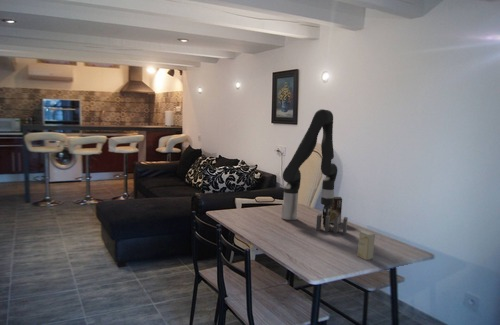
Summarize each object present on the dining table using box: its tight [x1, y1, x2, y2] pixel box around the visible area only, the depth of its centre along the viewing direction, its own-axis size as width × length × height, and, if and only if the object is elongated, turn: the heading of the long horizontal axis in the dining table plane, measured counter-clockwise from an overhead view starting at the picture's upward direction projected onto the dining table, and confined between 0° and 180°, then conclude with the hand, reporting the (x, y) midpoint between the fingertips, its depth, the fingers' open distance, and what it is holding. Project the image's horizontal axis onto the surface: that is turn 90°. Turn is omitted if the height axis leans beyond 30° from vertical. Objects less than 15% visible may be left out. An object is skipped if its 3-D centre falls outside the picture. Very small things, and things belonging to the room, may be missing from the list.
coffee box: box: [330, 196, 343, 225], centre depth 246 cm, size 9×6×16 cm
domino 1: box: [315, 213, 323, 232], centre depth 226 cm, size 2×5×9 cm, turn 159°
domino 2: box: [324, 215, 331, 233], centre depth 225 cm, size 2×5×9 cm, turn 159°
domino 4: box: [341, 216, 349, 236], centre depth 221 cm, size 2×5×9 cm, turn 160°
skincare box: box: [357, 230, 376, 261], centre depth 182 cm, size 6×4×12 cm
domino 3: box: [333, 216, 339, 234], centre depth 223 cm, size 2×5×9 cm, turn 160°
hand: (325, 223), depth 235 cm, fingers open, 6 cm apart
